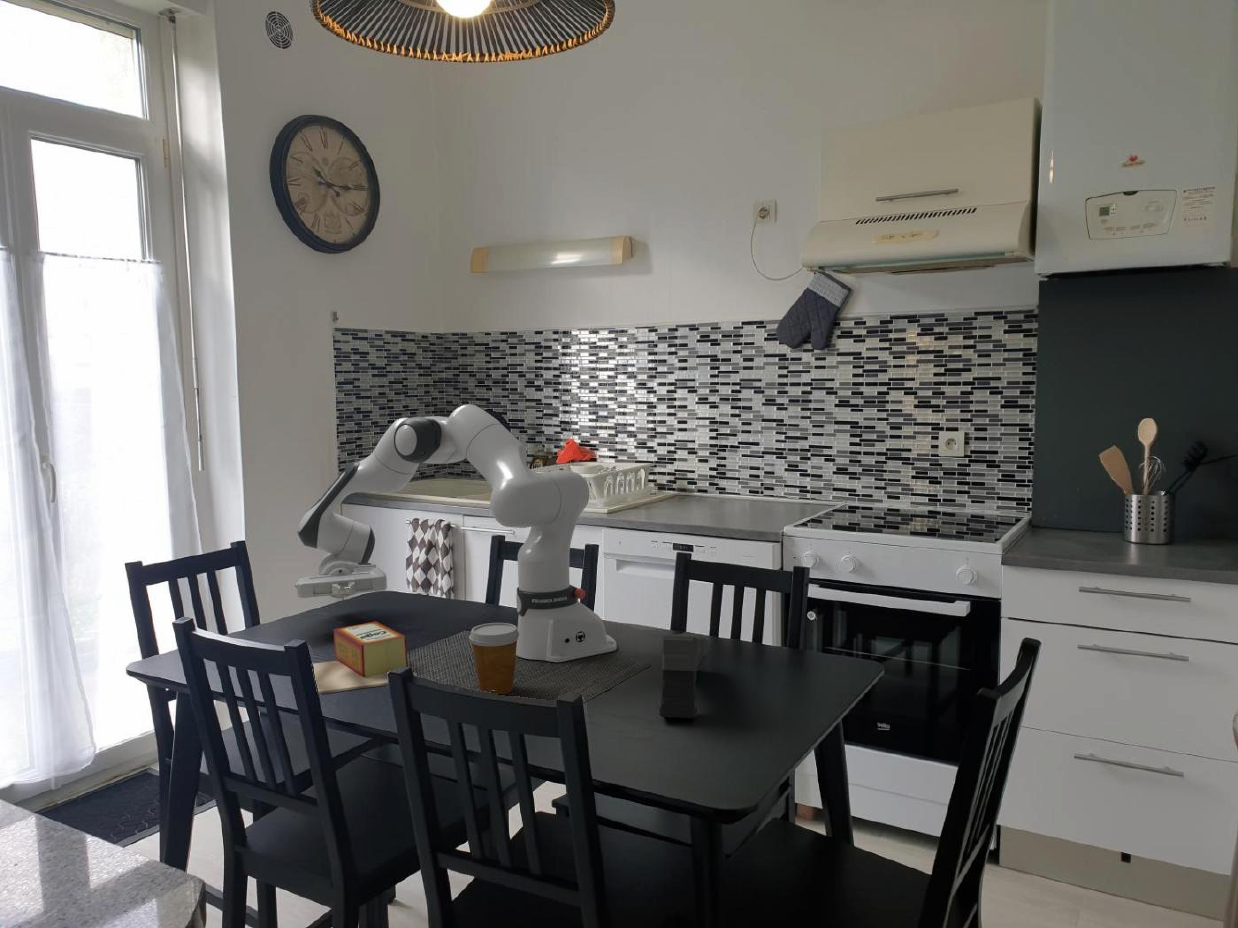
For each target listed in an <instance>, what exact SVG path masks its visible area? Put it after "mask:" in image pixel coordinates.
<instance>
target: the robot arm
mask: <svg viewBox="0 0 1238 928" xmlns="http://www.w3.org/2000/svg"><path fill="white" fill-rule="evenodd" d="M527 453H528V452H527V448H526V447H525V445H524V444H523V443H521V441H520V440H519V439H517V437H516V436H515V435H513V433H511V432H510V431H509V430H508V429H507V428H506V427H505V426H504V425H503V424H502V423H501V422H500V421H499V420H497V419H496V418H495V417H494V416H493V415H491V414H490V413H489V412H487V411H485V410H484V409H482V408H480V407H479V406H477V405H475V404H469V403H468V404H462V405H461V406H458V407H457V408H455V409H454V410H453V411H452V412H451V414H450V415H449V416H447V417H446V416H441V415H438V416H437V415H436V416H435V415H434V416H433V415H432V416H430V415H429V416H413V417H401V418H398V419H396V420H395V421H394V422H393V423H392V424H391V425H390V426H389V427H388V429H387V430H386V431H385V432H384V434H383V435H382V436H381V438H380V440H379V441H378V443H377V444H376V446H375V448H374V450H373V452H372V453H370V455H368V456H367V457H366V458H364V459H361V460H359V461H353V462H351V463H350V464H348V466H346V467H345V468H344V469H343V471H342V472H341V473H340V474H338V476H337V477H336V479H335V480H334V481H333V482H332V484H331V485H330V486H329V487H328V488H327V489H326V491H325V492H323V495H321V497H320V498H319V499H318V500H317V502H316V503H315V504H313V506H312V507H310V508H309V510H308V511H306V513H304V515H303V516H302V518H301V519H300V522H299V525H298V529H297V535H298V537H299V539H300V541H301V543H302V544H303V545H304V546H305V547H307V548H308V547H309V548H311V549H316V550H317V549H318V550H321V551H323V552H326V554H325V555H324V556H323V557H322V558H321V560H320V561H319V564H318V568H317V575H312V576H304V577H301V578H298V580H297V582H295V583H294V588H295V589H297V591H296V592H297V597H298V598H299V599H308V598H309V599H310V598H317V597H318V598H319V597H328V596H329V597H331V598H335V599H344V598H347V597H349V596H353V595H356V594H359V593H360V594H361V593H362V594H363V593H370V592H379V591H380V592H381V591H385V590H387V588H388V582H387V581H388V579H387V574H386V573H385V572H384V571H383V570H382V569H381V568H379V567H377V564H376V563H375V562H374V563H373V562H372V563H371V562H369V561H370V558H371V557H372V555H373V552H374V549H375V546H376V545H375V544H376V538H375V532H374V531H373V529H372V527H371V526H369V525H367V524H365V523H362V522H360V521H357V520H354V519H351V518H349V517H346V516H343V515H341V514H338V513H336V512H335V510H336V509H337V508H338V507H339V506H340V504H341V503H342V502H343V500H345V498H346V497H348V496H349V495H351V494H355V493H373V494H374V493H377V494H393V493H395V492H398V491H401V490H402V489H404V488H405V487H406V486H407V485H408V484H409V483H410V481H411V480H412V479H413V477H414V475H415V474H416V472H417V470H418V468H419V466H420V465H421V464H430V465H431V464H432V465H433V464H437V465H447V464H453V463H454V464H455V463H457V464H459V463H464V462H467V461H468V463H470V464H471V465H472V466H473V467H474V469H476V470H477V472H478V473H479V474H480V475H481V476H482V477H483V478H484V479H485V480H486V481H487V483H488V484H489V487H490V489H491V493H490V498H489V499H490V500H489V505H490V511H491V514H492V516H493V517H494V519H495V521H496V522H498V524H500V525H501V526H503V527H506V528H514V529H515V528H516V529H517V528H519V529H526V528H530V531H529V534H528V535H527V538H526V540H525V541H524V543H523V544H522V545H521V547H520V548H519V549H518V553H517V575H518V576H517V577H518V578H517V581H518V586H517V588H516V596H515V597H516V598H515V599H516V601H515V602H516V603H515V604H516V612H517V614H518V620H517V631H518V632H519V637H518V640H517V647H516V657H519V658H521V659H522V658H523V659H526V660H527V659H528V660H535V661H536V660H537V661H546V662H553V663H562V662H567V661H573V660H576V659H581V658H587V657H591V656H596V655H600V654H605V653H609V652H613V651H616V650H617V648H618V646H617V642H616V640H615V639H614V638H613V637H612V636H610V635H609V634H607V633H606V626H605V624H604V621H603V619H602V618H601V617H600V616H599V615H598V614H597V613H596V612H595V611H593V610H592V609H590V608H589V607H587V606H586V605H585V604H583V603H582V602H580V601H579V599H580V600H583V599H584V598H585V597H586V591H585V590H584V589H582V588H581V587H576V586H574V585H572V584H570V553H571V552H570V550H571V544H572V540H573V535H574V531H575V529H576V525H577V522H578V520H579V517H580V515H581V514H582V512H583V511H584V510H585V509H586V508H587V505H588V504H589V500H590V488H589V484H588V483H587V481H586V479H585V478H584V476H582V475H581V474H579V473H578V472H575V471H570V470H563V469H555V470H550V471H543V472H537V471H534V470H532V469H531V468H529V467H528V465H527V464H526V463H527V457H528V454H527Z"/></svg>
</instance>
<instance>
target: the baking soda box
mask: <svg viewBox="0 0 1238 928" xmlns="http://www.w3.org/2000/svg"><path fill="white" fill-rule="evenodd" d="M333 643H334V644H333V645H334V659H335V661H339V662H340V663H342V664H343V665H345V666H347V667H348V668H350V669H351V670H353V671H354V672H356V673H357V674H359V675H360V676H362V677H367V676H371V675H376V674H380V673H385V672H389V671H390V670H394V669H396V668H398V667H405V666H407V667H408V652H407V651H408V649H407V636H406V635H404V634H402V633H400V632H398V631H396V630H394V629H392V628H390V627H389V626H386V625H385V624H382V623H380V622H378V621H370V622H365V623H361V624H359V623H358V624H355V625H354V624H353V625H349V626H345V627H338V628H333Z"/></svg>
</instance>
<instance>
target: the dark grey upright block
mask: <svg viewBox="0 0 1238 928" xmlns="http://www.w3.org/2000/svg"><path fill="white" fill-rule="evenodd" d="M661 642H662V643H661V644H662V645H661V692H660V693H661V695H660V696H661V697H660V707H659V716H660V717H662V718H681V719H694V718H696V717H697V715H698V708H697V707H696V706H695V705H696V699H697V698H696V697H697V689H696V681H697V672H701V671H702V670H703V667H704V666H705V664H706V663H705V662H706V660H707V658H708V654H709V647H708V646H709V640H707V639H706V638H704V637H703V636H700V635H697V634H695V633H692V632H689V631H685V632H683V633H678V634H671V635H662V640H661Z"/></svg>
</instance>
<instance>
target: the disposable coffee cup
mask: <svg viewBox="0 0 1238 928" xmlns="http://www.w3.org/2000/svg"><path fill="white" fill-rule="evenodd" d="M517 629H518V626H516V625H514V624H512V623H507V622H490V623H489V622H488V623H482V624H479V625H476V626H474V627H472V629H471V631H470V635H469V636H468V639H469V640H470V643H471V645H472V651H473V658H474V663H475V670H476V674H477V675H476V676H477V682H478V687H479V691H480V690H481V691H487V692H491V693H497V694H502V695H506V694H508V693H510V692H512V691H513V690H514V680H515V669H516V659H517V655H516V647H517V640H518V637H519V632H518V631H517ZM491 690H495V691H491Z"/></svg>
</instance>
